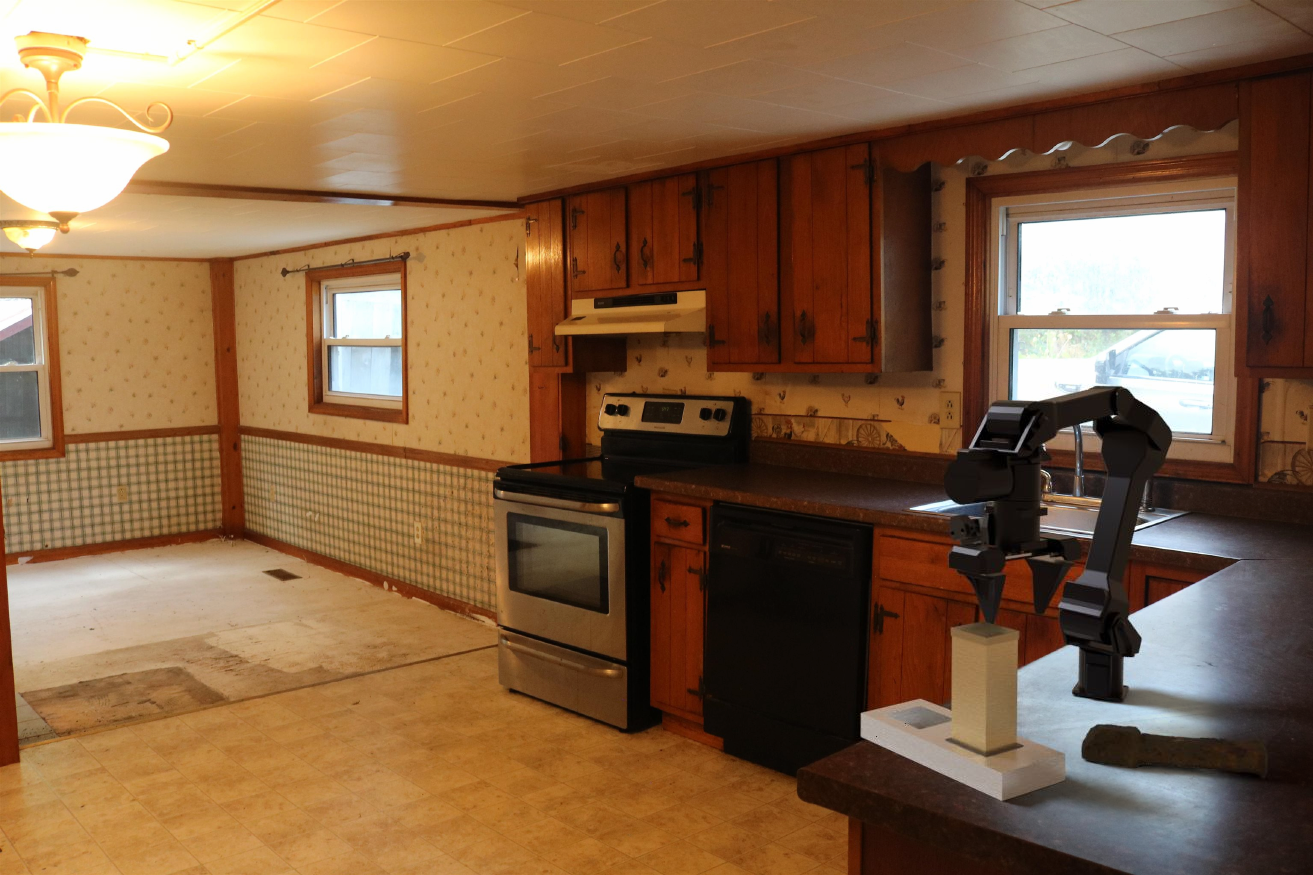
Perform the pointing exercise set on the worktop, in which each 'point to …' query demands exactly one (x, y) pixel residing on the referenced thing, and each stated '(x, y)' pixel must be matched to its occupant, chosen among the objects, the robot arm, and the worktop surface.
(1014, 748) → the white base plate
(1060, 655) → the worktop surface
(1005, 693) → the beige tall square block
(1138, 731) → the hand tool
